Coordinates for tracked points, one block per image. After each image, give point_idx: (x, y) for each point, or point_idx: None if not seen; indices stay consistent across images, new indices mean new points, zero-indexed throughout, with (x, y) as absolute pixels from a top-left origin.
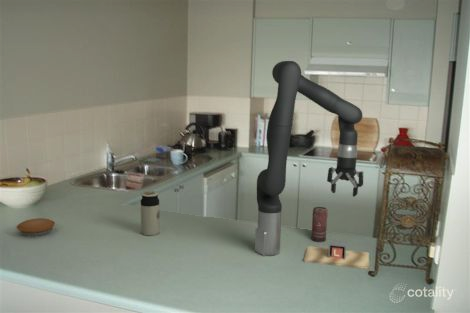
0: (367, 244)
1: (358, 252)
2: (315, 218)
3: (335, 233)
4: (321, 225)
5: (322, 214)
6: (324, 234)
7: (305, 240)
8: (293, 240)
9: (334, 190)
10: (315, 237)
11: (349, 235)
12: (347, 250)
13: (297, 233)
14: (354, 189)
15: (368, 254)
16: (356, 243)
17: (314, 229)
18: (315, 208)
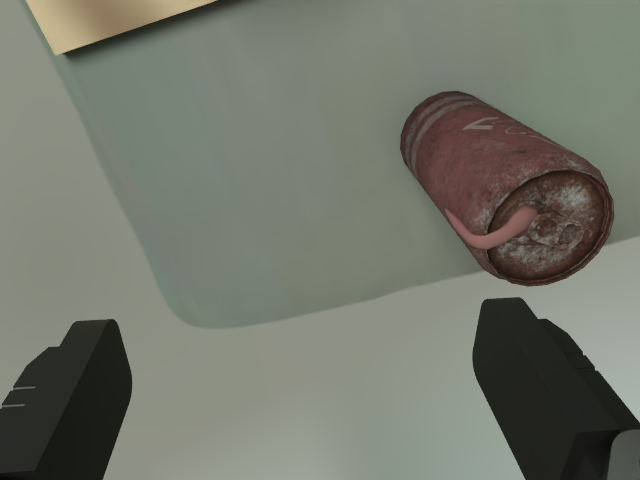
0: (159, 229)
1: (112, 14)
2: (538, 135)
3: (381, 286)
4: (459, 131)
5: (495, 166)
6: (415, 136)
7: (518, 72)
8: (595, 22)
9: (499, 350)
10: (464, 95)
11: (303, 300)
12: (193, 7)
13: None
14: (16, 432)
15: (37, 17)
16: (219, 208)
17: (498, 111)
18: (593, 227)
